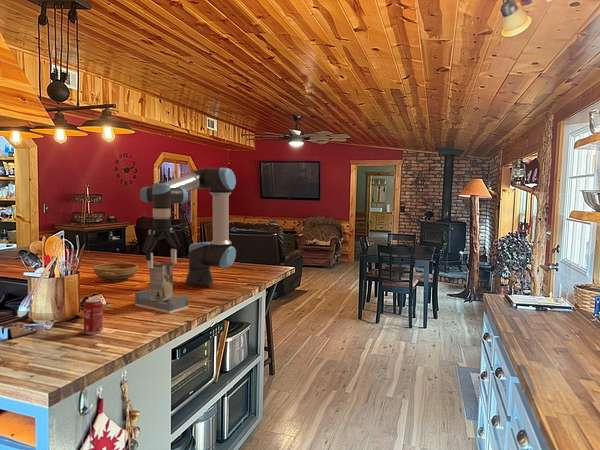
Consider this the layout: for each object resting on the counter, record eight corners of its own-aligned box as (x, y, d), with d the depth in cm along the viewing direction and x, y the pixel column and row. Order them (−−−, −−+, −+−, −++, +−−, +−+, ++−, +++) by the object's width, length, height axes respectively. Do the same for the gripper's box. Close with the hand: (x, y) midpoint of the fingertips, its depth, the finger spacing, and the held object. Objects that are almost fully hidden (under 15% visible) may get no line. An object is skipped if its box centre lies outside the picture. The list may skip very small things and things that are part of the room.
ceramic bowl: (106, 274, 267) (106, 261, 266) (146, 275, 267) (146, 262, 267) (82, 284, 237) (82, 270, 237) (127, 285, 238) (127, 271, 237)
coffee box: (160, 296, 202) (160, 261, 201) (173, 297, 201) (173, 262, 200) (149, 300, 194) (149, 264, 192) (162, 302, 192) (162, 265, 191)
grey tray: (154, 300, 208) (154, 288, 207) (188, 307, 197) (188, 294, 196) (135, 305, 198) (135, 292, 198) (169, 313, 187) (169, 299, 187)
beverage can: (88, 329, 164) (87, 297, 163) (105, 329, 164) (105, 297, 163) (81, 335, 158) (80, 302, 157) (99, 335, 158) (98, 302, 157)
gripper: (176, 216, 207) (177, 260, 209) (132, 219, 186) (133, 268, 188) (188, 216, 203) (188, 262, 205) (144, 220, 182) (145, 270, 184)
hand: (162, 265), depth 197 cm, fingers open, 13 cm apart
